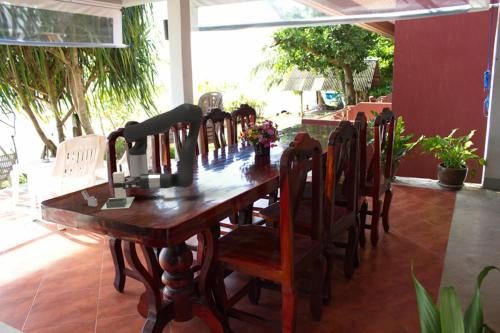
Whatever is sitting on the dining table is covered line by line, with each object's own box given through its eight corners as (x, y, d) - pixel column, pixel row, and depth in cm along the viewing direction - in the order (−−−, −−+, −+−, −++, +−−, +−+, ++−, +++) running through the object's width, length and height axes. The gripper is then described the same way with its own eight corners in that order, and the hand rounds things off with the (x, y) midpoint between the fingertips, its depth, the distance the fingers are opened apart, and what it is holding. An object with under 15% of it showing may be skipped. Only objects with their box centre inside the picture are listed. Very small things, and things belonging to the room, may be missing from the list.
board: (109, 200, 210) (108, 193, 210) (135, 199, 212) (134, 191, 211) (101, 211, 193) (100, 203, 192) (129, 210, 194) (128, 202, 193)
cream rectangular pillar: (116, 199, 209) (113, 164, 205) (126, 198, 209) (123, 163, 206) (115, 200, 206) (112, 165, 202) (125, 200, 206) (122, 164, 203)
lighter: (98, 207, 199) (96, 190, 198) (95, 209, 198) (93, 191, 196) (85, 206, 202) (83, 189, 200) (82, 207, 200) (81, 190, 199)
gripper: (151, 170, 213) (117, 172, 212) (148, 177, 199) (111, 179, 198) (152, 185, 215) (119, 187, 213) (149, 193, 201) (113, 195, 199)
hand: (115, 183), depth 205 cm, fingers open, 8 cm apart
